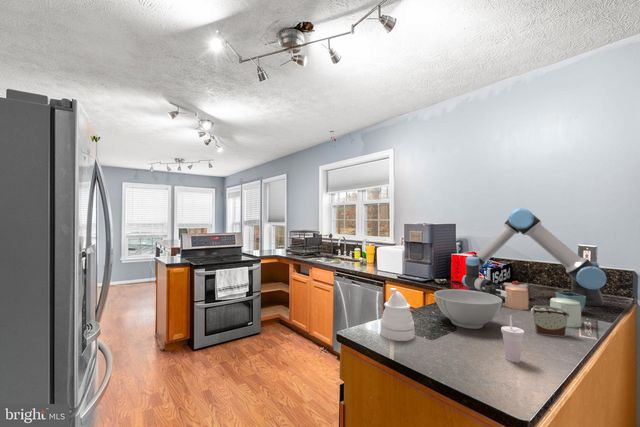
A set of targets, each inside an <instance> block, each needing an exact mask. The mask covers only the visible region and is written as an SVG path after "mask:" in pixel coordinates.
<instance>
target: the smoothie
mask: <svg viewBox="0 0 640 427" xmlns="http://www.w3.org/2000/svg"><path fill="white" fill-rule="evenodd" d="M512 319H513V315H509V325H507V326H506V325H505V326H501V328H500V331H501V334H502V340H503V345H504V346H503V347H504V352H505V353H504V354H505V358H506V359H505V360H507V361H509V362H512V363H520V362H521V357H522V355H521V354H522V349H523V348H522V347H523V340H524V336H525V331H524V330H523V329H522V328H519V327H516V326H513V320H512Z"/></svg>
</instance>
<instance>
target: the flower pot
mask: <svg viewBox="0 0 640 427" xmlns="http://www.w3.org/2000/svg"><path fill="white" fill-rule="evenodd" d="M555 298H566V299H572V300H576V301H579V302H580V305H581V313H582V312H583V310H584V309H585V306H586V305H585V301H586V297H585V296H582V295H579V294H575V293H570V292H566V291H565V292H562V291H561V292H560V291H558V292H557V291H556V292H555Z"/></svg>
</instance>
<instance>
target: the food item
mask: <svg viewBox="0 0 640 427" xmlns="http://www.w3.org/2000/svg"><path fill="white" fill-rule="evenodd" d="M502 285H506V286H518V287H524V288H527V289H528V301H530V299H531V293H530V292H531V291H530V289H531V286H530V285H529V284H525V283H524V284H523V283H520V282H519V281H518V280H513V281H512V282H504V283H503V284H502Z"/></svg>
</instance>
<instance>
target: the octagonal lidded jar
mask: <svg viewBox="0 0 640 427" xmlns="http://www.w3.org/2000/svg"><path fill="white" fill-rule="evenodd" d="M505 291H506V292H507V297H504V305H505V308H509V309H512V310H520V311H524V310H525V311H526V310H529V300H528V289H527V288H524V287H518V286H505Z"/></svg>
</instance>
